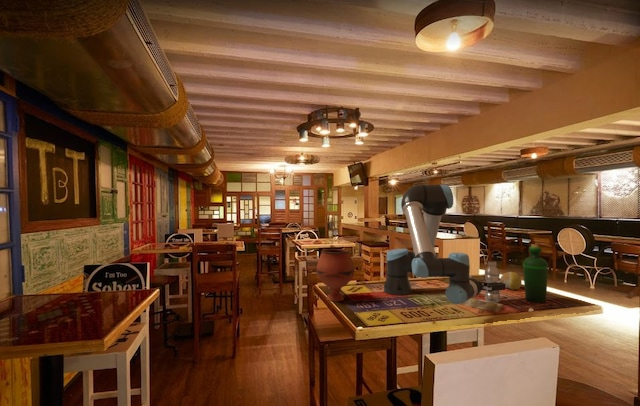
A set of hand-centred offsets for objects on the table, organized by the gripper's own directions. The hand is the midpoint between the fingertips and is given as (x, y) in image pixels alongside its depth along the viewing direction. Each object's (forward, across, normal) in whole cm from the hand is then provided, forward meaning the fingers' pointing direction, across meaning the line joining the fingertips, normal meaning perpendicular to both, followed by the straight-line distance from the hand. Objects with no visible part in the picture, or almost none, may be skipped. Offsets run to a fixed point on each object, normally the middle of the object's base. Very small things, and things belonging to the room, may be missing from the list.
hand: (486, 280), depth 147 cm
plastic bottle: (+9, 0, -13) cm, 16 cm away
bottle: (+28, +14, -13) cm, 34 cm away
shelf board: (0, -2, -12) cm, 13 cm away
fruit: (+44, -1, -13) cm, 46 cm away
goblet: (-41, -58, -13) cm, 73 cm away
